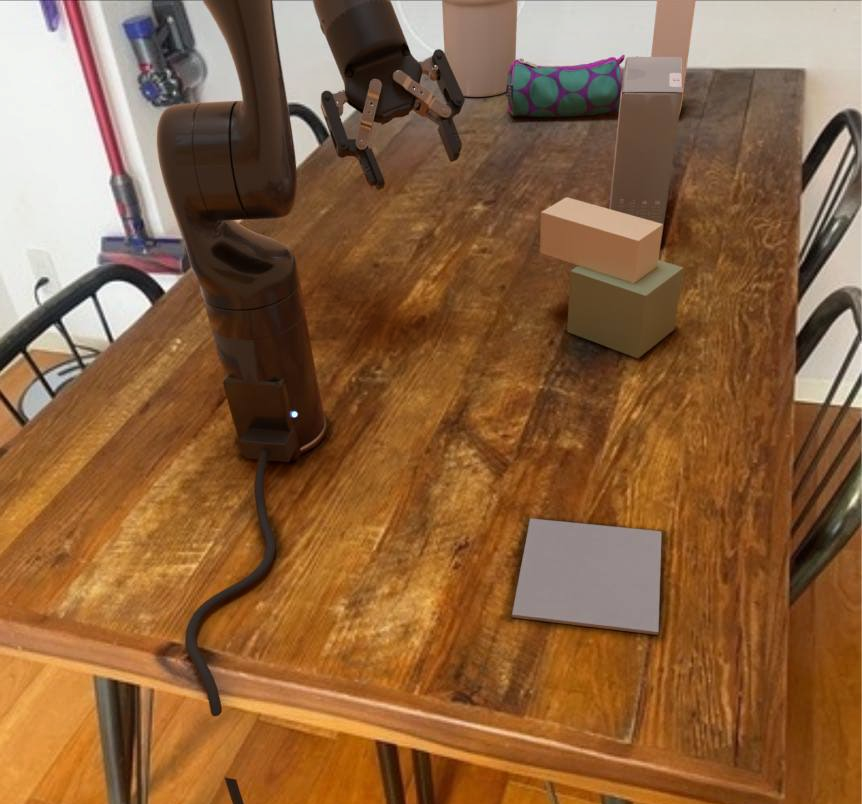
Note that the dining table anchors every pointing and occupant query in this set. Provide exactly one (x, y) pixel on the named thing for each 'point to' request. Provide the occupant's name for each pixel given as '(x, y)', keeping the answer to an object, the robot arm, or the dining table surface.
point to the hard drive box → (646, 136)
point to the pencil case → (564, 89)
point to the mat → (590, 576)
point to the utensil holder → (480, 43)
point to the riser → (624, 308)
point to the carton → (600, 239)
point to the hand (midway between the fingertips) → (418, 172)
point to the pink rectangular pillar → (673, 31)
